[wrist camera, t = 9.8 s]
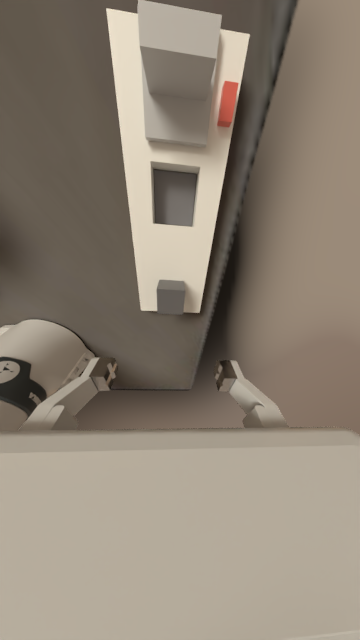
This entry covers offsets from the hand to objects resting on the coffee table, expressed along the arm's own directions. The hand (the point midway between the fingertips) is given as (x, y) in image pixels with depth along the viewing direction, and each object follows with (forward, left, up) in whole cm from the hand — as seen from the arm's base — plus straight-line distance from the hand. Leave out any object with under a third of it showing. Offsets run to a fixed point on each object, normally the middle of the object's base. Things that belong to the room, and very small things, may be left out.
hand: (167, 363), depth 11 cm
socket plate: (+8, +4, -17) cm, 19 cm away
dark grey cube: (0, 0, -15) cm, 15 cm away
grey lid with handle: (+17, +9, -14) cm, 24 cm away
